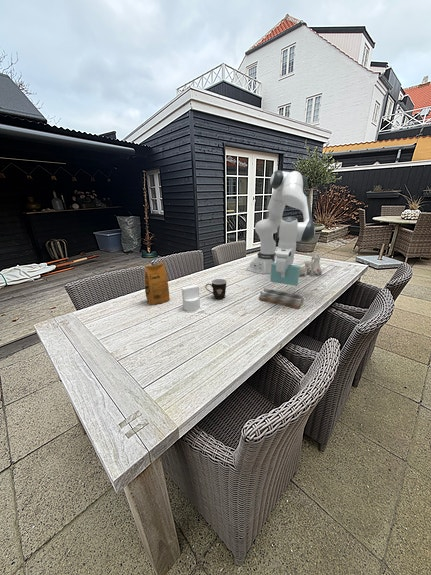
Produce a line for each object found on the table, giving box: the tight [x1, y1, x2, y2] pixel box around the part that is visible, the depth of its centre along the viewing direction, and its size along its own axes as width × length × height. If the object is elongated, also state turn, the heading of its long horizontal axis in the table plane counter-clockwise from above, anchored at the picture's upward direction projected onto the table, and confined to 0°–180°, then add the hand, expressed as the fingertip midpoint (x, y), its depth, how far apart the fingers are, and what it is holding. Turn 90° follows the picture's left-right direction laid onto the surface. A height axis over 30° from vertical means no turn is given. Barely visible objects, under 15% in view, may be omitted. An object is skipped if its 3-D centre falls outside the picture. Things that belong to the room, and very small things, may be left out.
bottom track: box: [258, 287, 305, 310], centre depth 126 cm, size 22×10×4 cm, turn 58°
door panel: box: [270, 262, 301, 287], centre depth 121 cm, size 14×3×10 cm, turn 58°
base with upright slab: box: [181, 284, 201, 312], centre depth 120 cm, size 9×9×12 cm
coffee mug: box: [204, 278, 228, 301], centre depth 132 cm, size 12×9×10 cm
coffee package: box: [144, 262, 171, 306], centre depth 127 cm, size 10×12×22 cm
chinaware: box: [299, 252, 323, 277], centre depth 166 cm, size 28×17×17 cm, turn 143°
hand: (284, 275), depth 121 cm, fingers closed on door panel, 3 cm apart
